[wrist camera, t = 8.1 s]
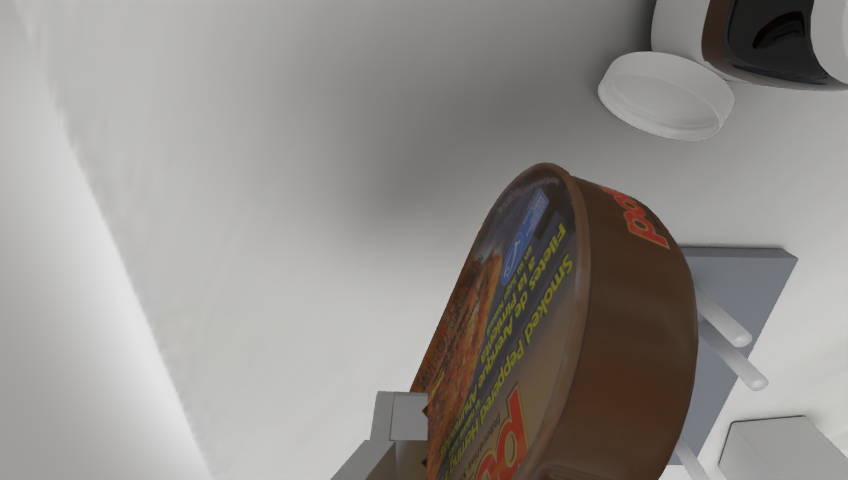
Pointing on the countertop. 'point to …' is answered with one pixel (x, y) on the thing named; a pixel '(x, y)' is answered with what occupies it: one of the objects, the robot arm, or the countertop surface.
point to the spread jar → (724, 60)
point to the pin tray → (727, 332)
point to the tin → (562, 341)
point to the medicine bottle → (781, 452)
